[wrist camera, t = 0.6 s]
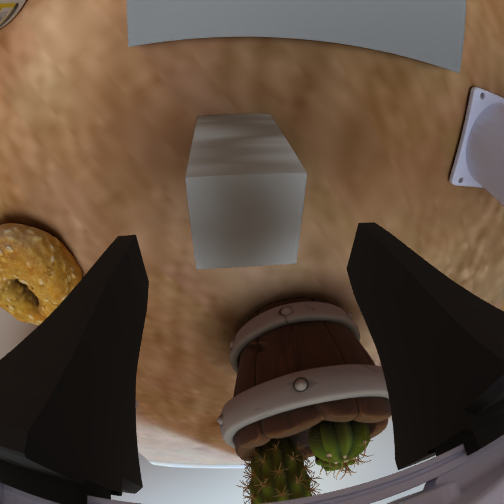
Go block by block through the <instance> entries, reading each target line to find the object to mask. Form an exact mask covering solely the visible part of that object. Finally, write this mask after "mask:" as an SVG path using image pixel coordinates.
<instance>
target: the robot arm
mask: <svg viewBox="0 0 504 504" xmlns="http://www.w3.org/2000/svg"><path fill="white" fill-rule="evenodd" d="M480 94H481V97H480ZM459 178H460V179H459ZM449 180H450V182H451V183H452V184H453V185H459V186H470V187H480V188H485V189H486V190H487V191H488V192H489V193H490V194H491V195H492V196H493V197H494V198H496V199H497V200H498V201H499V202H500V203H501V204H502V205H503V206H504V98H503V97H500V96H498V95H496V94H493V93H491V92H488V91H486V90H484V89H481V88H478V87H475V86H474V87H473V88H472V89H471V92H470V98H469V103H468V108H467V113H466V117H465V122H464V126H463V131H462V135H461V139H460V143H459V146H458V150H457V154H456V158H455V161H454V165H453V168H452V171H451V175H450V179H449ZM347 272H348V276H349V279H350V283H351V286H352V290H353V293H354V296H355V298H356V300H357V303H358V305H359V308H360V310H361V312H362V315H363V317H364V319H365V322H366V324H367V326H368V329H369V331H370V334H371V336H372V339H373V341H374V343H375V346H376V349H377V352H378V355H379V358H380V361H381V365H382V369H383V373H384V377H385V381H386V386H387V391H388V396H389V401H390V407H391V414H392V422H393V430H394V443H395V461H396V465H397V468H398V470H400V469H403V468H405V467H408V466H411V465H413V464H416V463H418V462H420V461H423V460H425V459H428V458H430V457H433V456H435V455H436V456H437V457H434V458H432V459H430V460H428V461H425V462H423V463H420V464H418V465H415V466H413V467H410V468H408V469H405V470H403V471H400V472H397V473H394V474H392V475H389V476H386V477H383V478H380V479H377V480H373V481H370V482H367V483H363V484H360V485H356V486H353V487H349V488H345V489H342V490H337V491H333V492H329V493H324V494H319V495H314V496H309V497H304V498H298V499H292V500H286V501H279V502H271V503H262V504H370V503H373V502H376V501H379V500H382V499H385V498H388V497H391V496H393V495H396V494H399V493H401V492H404V491H406V490H409V489H411V488H414V487H416V486H419V485H421V484H423V483H425V482H426V484H425V487H424V489H423V490H422V491H420V492H417V493H414V494H411V495H408V496H405V497H403V498H400V499H397V500H395V501H393V502H390V503H387V504H504V311H502V310H500V309H498V308H496V307H494V306H492V305H491V304H489V303H487V302H486V301H484V300H482V299H480V298H479V297H477V296H475V295H474V294H472V293H471V292H469V291H468V290H466V289H464V288H463V287H461V286H460V285H458V284H457V283H455V282H454V281H453V280H451V279H450V278H448V277H447V276H445V275H444V274H443V273H441V272H440V271H439V270H437V269H436V268H435V267H433V266H432V265H431V264H429V263H428V262H427V261H425V260H424V259H423V258H422V257H420V256H419V255H418V254H416V253H415V252H414V251H413V250H411V249H410V248H409V247H407V246H406V245H405V244H404V243H402V242H401V241H400V240H398V239H397V238H396V237H395V236H393V235H392V234H391V233H389V232H388V231H386V230H385V229H384V228H382V227H381V226H379V225H378V224H376V223H359V224H358V228H357V232H356V235H355V239H354V243H353V247H352V251H351V254H350V258H349V262H348V265H347ZM148 286H149V281H148V277H147V274H146V270H145V267H144V263H143V260H142V256H141V252H140V249H139V245H138V241H137V237H136V235H128V236H118V237H117V238H116V239H115V240H114V241H113V243H112V244H111V245H110V246H109V247H108V248H107V250H106V251H105V252H104V253H103V254H102V256H101V257H100V258H99V259H98V260H97V262H96V263H95V264H94V265H93V266H92V267H91V269H90V270H89V271H88V272H87V274H86V275H85V276H84V277H83V278H82V280H81V281H80V282H79V283H78V284H77V285H76V286H75V287H74V289H73V290H72V291H71V292H70V293H69V294H68V295H67V297H66V298H65V299H64V300H63V301H62V302H61V303H60V305H59V306H58V307H57V308H56V309H55V310H54V311H53V312H52V313H51V314H50V315H49V316H48V317H47V318H46V319H45V320H44V321H43V322H42V323H41V324H40V325H39V326H38V327H37V328H36V329H35V330H34V331H33V332H32V333H31V334H29V335H28V336H27V337H26V338H25V339H24V340H23V341H22V342H21V343H20V344H18V346H16V347H15V348H14V349H13V350H12V351H11V352H9V353H8V354H7V355H6V356H5V357H3V358H2V359H1V360H0V504H139V503H130V502H123V501H116V500H111V495H117V496H121V495H122V492H126V493H134V494H135V493H137V492H138V491H139V490H140V489H141V488H142V487H143V485H142V480H141V473H140V466H139V458H138V447H137V435H136V408H135V398H136V373H137V364H138V358H139V352H140V346H141V340H142V334H143V328H144V322H145V317H146V311H147V301H148Z"/></svg>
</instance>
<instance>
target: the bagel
mask: <svg viewBox="0 0 504 504" xmlns="http://www.w3.org/2000/svg"><path fill="white" fill-rule="evenodd" d="M81 280H82V272H81V269H80V266H79V265H78V263H77V262H76V260H75V258H74V257H73V255H71V253H70V252H69V251H68V250H67V249H66V247H65V246H64V244H63V243H62V242H61V241H59V240H58V239H57V238H56V237H53V236H52V235H51V234H49V233H47V232H45V231H42V230H40V229H38V228H34V227H30V226H26V225H23V224H16V223H7V224H1V225H0V307H1V308H3V309H4V310H6V311H7V312H9V313H10V314H11V315H13V316H14V317H15V318H16V319H17V320H20V321H22V322H28V323H33V324H36V325H40V324H41V323H42V322H43V321H44V320H45V319H46V318H47V317H48V316H49V315H50V314H51V313H52V312H53V311H54V310H55V309H56V308H57V307H58V306H59V305H60V303H61V302H62V301H63V300H64V299H65V298H66V297H67V295H68V294H69V293H70V292H71V291H72V290H73V289H74V287H75V286H76V285H77V284H78V283H79V282H80V281H81Z"/></svg>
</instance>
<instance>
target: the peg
mask: <svg viewBox="0 0 504 504" xmlns="http://www.w3.org/2000/svg"><path fill="white" fill-rule="evenodd" d="M306 180H307V172H306V170H305V169H304V167H303V165H302V164H301V162H300V160H299V159H298V157H297V155H296V154H295V152H294V151H293V149H292V147H291V146H290V144H289V143H288V141H287V139H286V138H285V136H284V135H283V133H282V131H281V130H280V128H279V127H278V125H277V124H276V122H275V121H274V119H273V117H272V116H271V114H223V115H204V116H198V118H197V122H196V127H195V131H194V136H193V141H192V146H191V150H190V155H189V161H188V166H187V171H186V176H185V181H186V190H187V199H188V208H189V216H190V224H191V232H192V240H193V248H194V255H195V262H196V269H213V268H230V267H247V266H263V265H279V264H294V263H296V260H297V253H298V245H299V238H300V230H301V222H302V214H303V206H304V197H305V189H306Z"/></svg>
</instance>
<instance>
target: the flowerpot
mask: <svg viewBox="0 0 504 504" xmlns="http://www.w3.org/2000/svg"><path fill="white" fill-rule="evenodd" d="M359 341H360V333H359V329H358V327H357V325H356V323H355V322H354V321H353V319H352V314H351V313H349V312H345V311H344V310H343V309H341V308H340V307H338V306H335V305H332V304H329V303H328V302H327V301H325V300H322V299H314V300H313V301H312V300H311V299H309V298H292V299H289V300H287V301H277V302H274V303H272V304H269V305H267V306H265V307H264V308H262V309H261V310H260V311H259V313H254V314H253V315H252V316H251V318H250V319H249V320H248V321H247V322H246V323H245V325H244V326H243V327H242V328H241V329H240V330H239V331H238V332H237V334H236V336H235V338H234V340H233V341H231V342H230V347H231V353H230V361H231V365H232V367H233V369H234V371H235V372H236V373H237V379H236V385H235V390H234V396H233V398H232V399H231V400H229V401H228V402H227V403H226V404H225V405H224V407H223V409H222V412H221V415H220V416H219V417H218V419H217V421H218V423H219V424H220V430H221V434H222V437H223V439H224V441H225V442H226V443H227V444H228V445H229V446H231V447H233V448H235V449H236V453H237V455H238V456H239V457H240V458H241V459H242V460H244V461H245V462H246V461H249V463H247V462H246V464H248V465H246V466H247V467H246V468H247V469H248V467H249V466H250V467H251V472H250V471H249V469H250V467H249V469H248V471H249V472H250V473H251V474H250V475H251V476H248V475H246V476H248V477H250V478H251V479H250V478H248V477H245V478H248V479H250V480H251V481H249V482H250V483H249V482H248V483H249V485H246V484H244V485H245V486H247V487H243V489H244V488H246V489H245V490H244V491H243V492H245V491H246V490H247V489H249V490H250V492H251V493H248V491H246V492H247V493H248V494H249V495H251V496H252V497H251V496H245V498H249V500H250V498H251V504H262V503H271V502H279V501H286V500H292V499H298V498H304V497H309V496H312V494H311V492H313V491H315V488H313V487H312V488H313V489H312V488H310V487H311V486H312V485H313V484H312V485H311V486H310V483H311V481H313V480H312V478H311V477H309V475H308V474H307V471H308V469H307V468H310V467H308V466H307V465H305V466H304V461H305V460H308V459H307V458H308V457H311V456H315V458H316V459H315V462H316V464H317V465H321V466H322V469H323V468H324V469H325V471H330V472H331V471H334V470H338V469H339V472H340V471H341V469H342V471H345V473H346V471H349V470H350V469H349V467H348V465H352V464H356V463H355V461H356V460H357V461H358V462H357V461H356V462H357V465H359V464H358V463H359V462H363V461H359V459H360V458H359V454H361V453H362V452H363V451H364V455H363V454H361V455H363V457H364V456H366V455H365V450H366V447H367V445H368V443H369V442H370V439H371V438H373V437H374V436H376V435H378V434H379V433H381V432H382V431H383V430H384V429H385V428H386V426H387V424H388V418H389V417H390V416H391V415H392V414H391V407H390V401H389V396H388V391H387V386H386V381H385V377H384V373H383V369H382V367H380V366H376V365H375V364H374V362H373V360H372V359H371V357H370V356H369V354H368V353H367V351H366V350H365V349H364V347H363V346H362V345H361V343H360V342H359ZM356 457H357V459H356ZM367 457H368V456H367ZM360 460H361V459H360ZM250 461H251V463H250ZM308 461H309V460H308ZM305 462H306V461H305ZM307 464H308V463H307ZM312 466H313V465H312ZM246 468H245V469H246ZM344 468H345V470H343V469H344ZM322 469H321V471H322ZM305 470H306V471H305ZM245 471H246V470H245ZM321 471H320V472H321ZM342 471H341V472H342ZM350 471H351V470H350ZM350 471H349V473H351V472H352V471H351V472H350ZM246 472H247V471H246ZM308 472H309V471H308ZM311 472H312V471H311ZM311 472H309V474H310V473H311ZM339 472H338V474H339ZM244 473H245V472H244ZM334 473H335V471H334ZM347 473H348V472H347ZM353 473H354V472H353ZM246 474H249V473H248V472H247V473H246ZM338 474H337V475H338ZM326 475H327V474H326ZM344 475H345V474H344ZM350 475H351V474H350ZM313 476H314V475H313ZM243 477H244V476H243ZM316 478H317V477H316ZM316 478H313V479H316ZM318 479H319V478H318ZM246 482H247V481H246ZM313 482H316V481H313ZM241 483H242V482H241ZM316 483H317V482H316ZM242 484H243V483H242ZM314 485H315V484H314ZM239 487H241V486H239ZM315 492H316V491H315ZM313 493H314V492H313ZM318 493H319V492H318ZM314 494H315V493H314ZM315 495H316V494H315ZM317 495H318V494H317ZM243 496H244V495H243ZM249 500H248V501H249ZM246 502H247V501H246ZM244 503H245V502H244ZM245 504H246V503H245Z"/></svg>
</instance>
